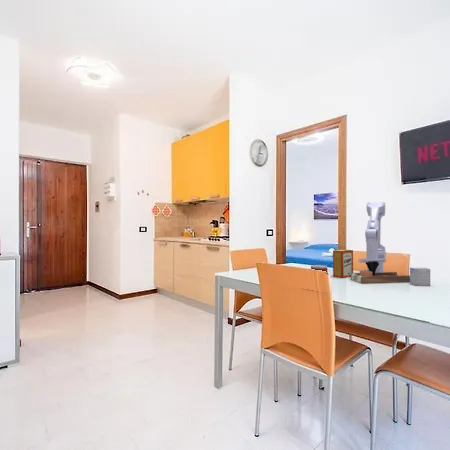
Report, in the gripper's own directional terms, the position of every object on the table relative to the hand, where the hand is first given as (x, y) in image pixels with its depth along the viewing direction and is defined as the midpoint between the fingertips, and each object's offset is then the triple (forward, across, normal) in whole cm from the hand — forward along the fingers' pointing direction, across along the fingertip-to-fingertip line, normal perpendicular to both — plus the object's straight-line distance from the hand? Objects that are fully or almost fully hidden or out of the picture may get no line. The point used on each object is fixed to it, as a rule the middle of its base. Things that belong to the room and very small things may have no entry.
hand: (372, 275), depth 168 cm
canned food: (+3, -35, -13) cm, 38 cm away
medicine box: (+3, +18, -13) cm, 22 cm away
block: (+1, -4, 0) cm, 4 cm away
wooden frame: (+3, +4, 0) cm, 5 cm away
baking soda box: (+3, -9, +15) cm, 18 cm away
